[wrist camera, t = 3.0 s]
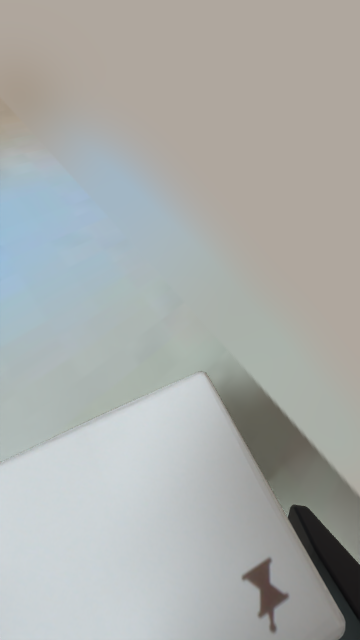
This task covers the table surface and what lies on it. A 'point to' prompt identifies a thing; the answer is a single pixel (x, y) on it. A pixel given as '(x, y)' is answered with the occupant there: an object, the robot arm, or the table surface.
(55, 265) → the table surface
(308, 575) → the skincare box
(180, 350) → the table surface
